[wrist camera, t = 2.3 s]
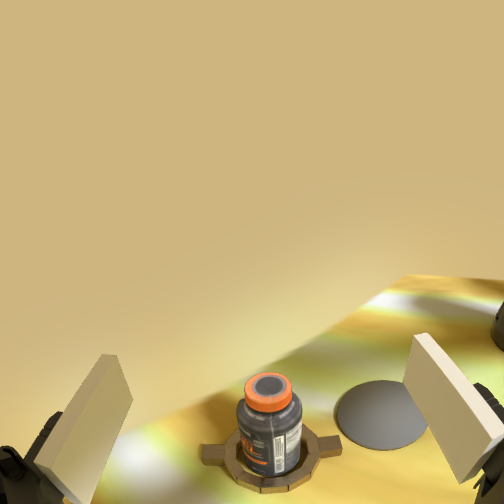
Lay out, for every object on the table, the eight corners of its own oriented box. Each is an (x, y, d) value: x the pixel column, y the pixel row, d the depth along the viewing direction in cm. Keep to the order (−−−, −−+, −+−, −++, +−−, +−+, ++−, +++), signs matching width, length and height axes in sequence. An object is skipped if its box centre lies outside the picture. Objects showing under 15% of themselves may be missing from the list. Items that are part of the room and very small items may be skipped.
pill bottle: (235, 450, 28) (220, 378, 25) (280, 429, 31) (278, 356, 27) (262, 486, 23) (254, 420, 20) (311, 461, 26) (317, 389, 22)
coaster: (408, 375, 36) (409, 373, 36) (443, 433, 25) (445, 431, 24) (328, 391, 36) (328, 388, 36) (349, 460, 25) (349, 458, 25)
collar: (330, 418, 31) (331, 410, 31) (348, 483, 22) (350, 476, 22) (209, 426, 32) (207, 419, 31) (200, 493, 22) (197, 487, 22)
